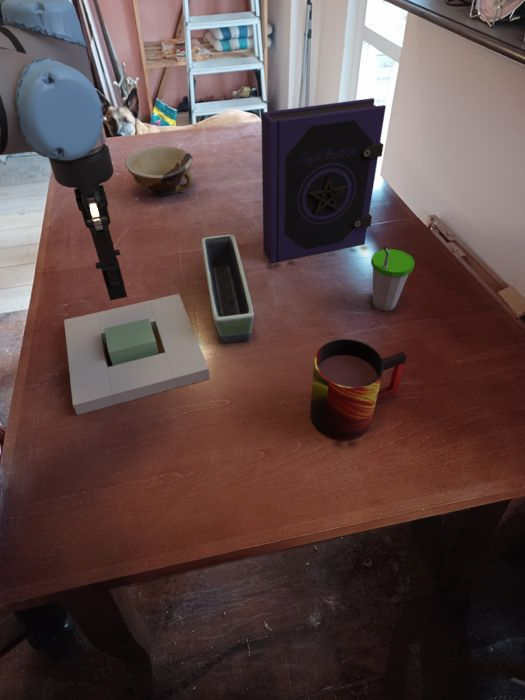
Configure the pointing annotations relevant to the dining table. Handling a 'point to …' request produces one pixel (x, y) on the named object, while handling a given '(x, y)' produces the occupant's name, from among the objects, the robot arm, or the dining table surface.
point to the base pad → (139, 375)
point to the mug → (349, 387)
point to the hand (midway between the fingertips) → (118, 295)
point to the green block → (131, 341)
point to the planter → (227, 289)
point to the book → (318, 176)
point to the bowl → (161, 169)
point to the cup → (389, 276)
